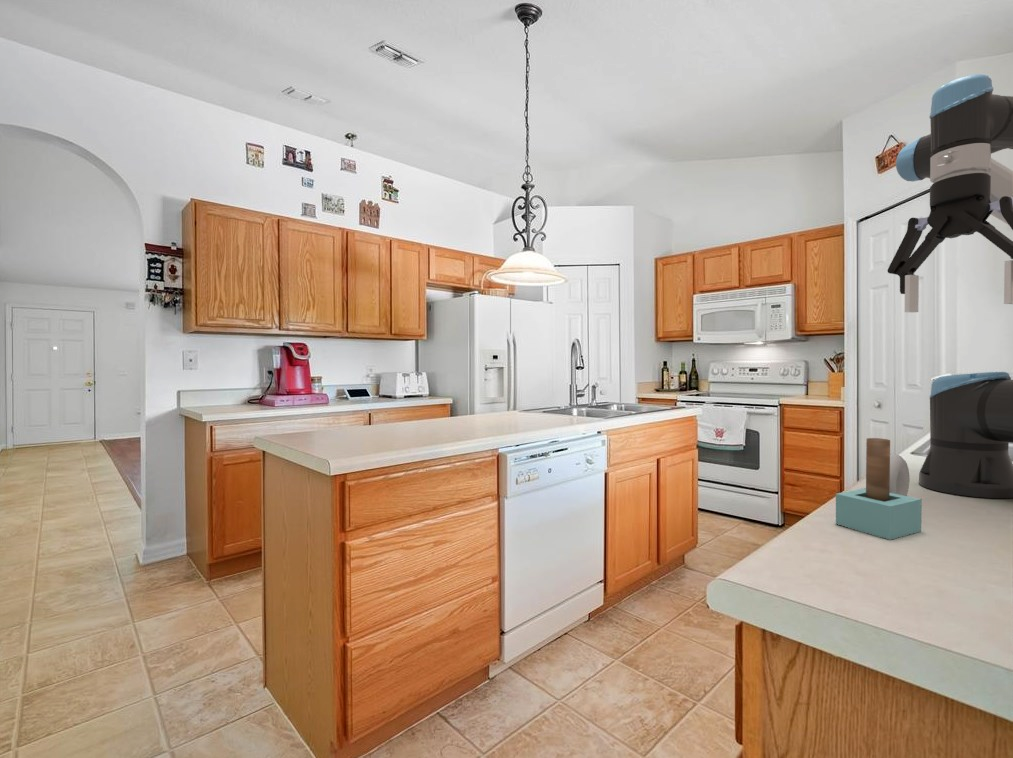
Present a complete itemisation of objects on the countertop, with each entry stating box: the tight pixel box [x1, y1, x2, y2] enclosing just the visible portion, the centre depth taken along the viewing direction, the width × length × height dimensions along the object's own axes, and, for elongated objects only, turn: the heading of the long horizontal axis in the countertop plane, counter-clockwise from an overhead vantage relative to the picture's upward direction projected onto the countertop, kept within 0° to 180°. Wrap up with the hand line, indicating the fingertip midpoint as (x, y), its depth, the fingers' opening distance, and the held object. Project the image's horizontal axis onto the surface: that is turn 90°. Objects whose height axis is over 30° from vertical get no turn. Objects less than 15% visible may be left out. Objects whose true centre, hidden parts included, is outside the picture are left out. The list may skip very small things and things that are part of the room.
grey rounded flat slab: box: [890, 453, 910, 496], centre depth 90 cm, size 10×4×10 cm, turn 126°
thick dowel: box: [865, 437, 891, 502], centre depth 80 cm, size 3×3×14 cm
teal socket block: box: [835, 487, 923, 541], centre depth 81 cm, size 8×8×5 cm
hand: (957, 308), depth 85 cm, fingers open, 13 cm apart
